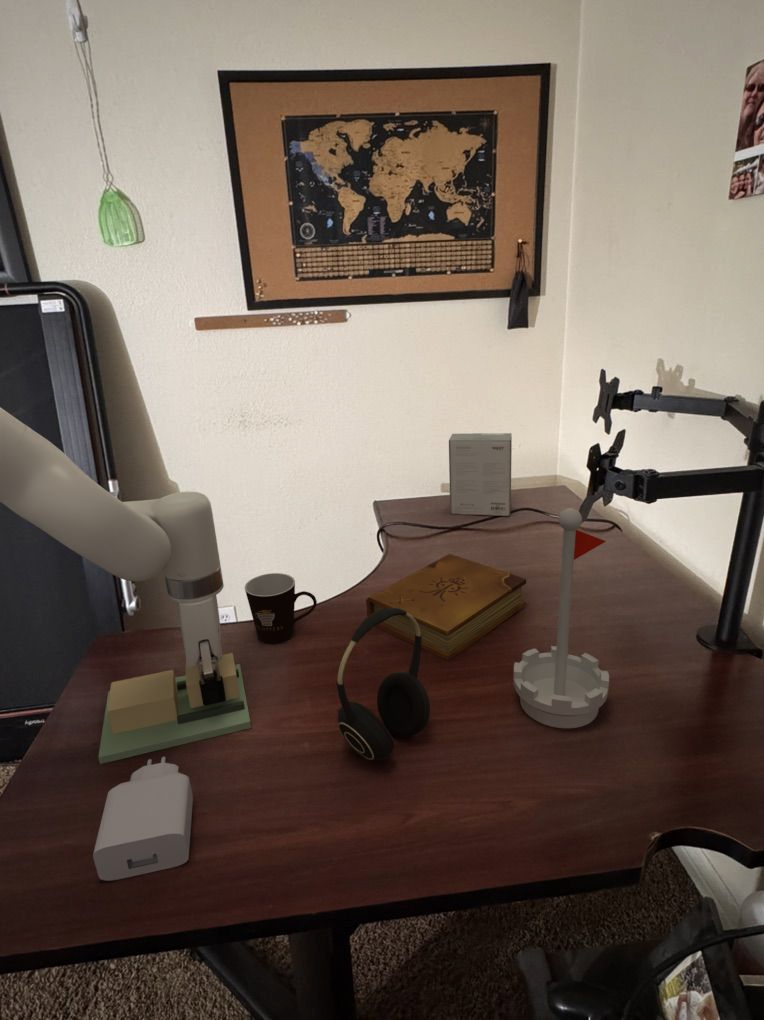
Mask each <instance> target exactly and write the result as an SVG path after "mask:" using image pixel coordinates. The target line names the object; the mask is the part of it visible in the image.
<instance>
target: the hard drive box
mask: <svg viewBox="0 0 764 1020" xmlns="http://www.w3.org/2000/svg"><path fill="white" fill-rule="evenodd" d="M512 436H513V435H512V433H511V432H509V433H508V432H507V433H506V432H495V433H493V432H490V433H488V432H485V433H484V432H482V433H481V432H479V433H475V432H474V433H452V434H451V435H450V437H449V439H448V466H449V467H448V468H449V469H448V470H449V514H450V515H464V516H466V515H467V516H468V515H471V516H492V517H499V516H500V517H510V516H511V512H512V511H511V510H512V452H513V451H512V445H513V444H512V440H513V439H512V438H513V437H512Z"/></svg>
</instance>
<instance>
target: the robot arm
mask: <svg viewBox="0 0 764 1020" xmlns="http://www.w3.org/2000/svg"><path fill="white" fill-rule="evenodd" d="M0 503H1V504H3V505H4V506H6V508H8V509H10V510H11V511H12V512H13V513H15V514H16V515H18V516H19V517H21V518H22V519H24V520H25V521H27V522H29V523H31V524H33V525H34V526H36V527H37V528H39V529H40V530H41V531H43V532H44V533H46V534H47V535H49V536H50V537H52V538H54V539H55V540H56V541H57V542H59V543H60V544H62V545H64V546H65V547H67V548H68V549H70V550H71V551H73V552H74V553H76V554H77V555H79V556H81V557H82V558H84V559H86V560H87V561H89V562H91V563H92V564H94V565H96V566H97V567H99V568H101V569H103V570H104V571H106V572H107V573H109V574H110V575H113V576H115V577H117V578H119V579H121V580H123V581H127V582H133V583H134V582H135V583H138V582H145V581H149V580H151V579H153V578H155V577H157V576H159V575H160V574H161V573H162V572H163V575H164V581H165V586H166V590H167V591H166V592H167V596H168V598H169V599H170V600H171V601H172V602H175V603H176V605H177V613H178V619H179V625H180V633H181V637H182V643H183V650H184V656H185V661H186V662H187V666H188V667H189V668H192V667H195V666H196V665H198V669H199V675H200V681H199V684H200V690H201V695H202V701H203V705H210V704H215V703H219V702H224V701H225V700H226V696H225V690H224V684H223V678H222V676H220V671H219V665H218V662H219V661H220V660H221V659H222V655H223V647H222V630H221V628H222V627H221V620H220V610H219V604H218V597H217V595H218V594H220V593H221V592H222V591H223V589H224V587H225V586H224V585H225V584H224V579H223V573H222V566H221V560H220V559H221V558H220V552H219V546H218V539H217V533H216V527H215V520H214V514H213V508H212V504H211V501H210V499H209V498H208V496H207V495H206V494H204V493H201V492H198V491H180V492H173V493H169V494H167V495H165V496H162V497H160V498H154V499H145V500H132V501H131V500H130V501H129V500H128V501H122V500H120V499H119V498H117V497H116V496H115V495H113V494H112V493H110V492H109V491H108V490H106V489H105V488H104V487H102V486H101V485H100V484H98V483H97V482H96V481H95V480H94V479H92V478H91V477H90V476H89V475H87V473H85V471H83V470H82V469H81V468H80V467H79V466H77V464H75V462H74V461H72V459H71V458H70V457H69V456H67V454H65V453H64V452H63V451H62V450H61V449H60V448H59V447H57V446H56V445H55V444H53V443H52V441H49V439H47V438H46V437H45V436H44V437H43V435H41V434H40V433H38V432H36V431H35V430H34V429H32V428H31V427H29V426H28V425H27V424H25V423H23V422H22V421H20V420H19V419H18V418H16V417H15V416H13V415H12V414H11V413H9V412H8V411H6V410H5V409H3V408H2V407H0ZM211 657H215V658H211ZM201 659H202V661H200V660H201ZM186 662H185V663H186ZM197 663H198V664H197ZM212 664H215V670H213V667H212ZM202 666H203V668H202ZM203 671H204V672H203Z"/></svg>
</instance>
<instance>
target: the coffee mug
mask: <svg viewBox="0 0 764 1020" xmlns="http://www.w3.org/2000/svg"><path fill="white" fill-rule="evenodd" d="M244 591H245V594H246V599H247V603H248V606H249V609H250V613H251V618H252V620H253V624H254V629H255V632H256V635H257V639H258V641H259V642H261V643H263V644H265V645H278V644H283V643H286V642H287V641H289V640H290V639H291V638H293V636H294V634H295V625H296V622H298V621H300V620H302V619H303V618H305V617H307V616H309V615H310V614H311V613H312V612H314V610H315V609H316V607H317V604H318V601H317V599H316V596H315V594H313V593H311V592H309V591H305V590H303V591H298V592H297V593H296V580H295V578H294V577H293V576H291V575H289V574H287V573H281V572H279V573H278V572H271V573H265V574H261V575H257V576H256V577H253V578H251V579H249V580H248V581H247V582H246V584H245V585H244ZM302 596H306V597H307V596H308V597H309V598H310V599H311V600H312V602H313V605H312V607H311V608H310V609H309V610H307V611H305V612H304V613H302V614H299V615H298V616H297V617H295V606H296V605H295V603H296V602H297V600H298V598H299V597H302Z"/></svg>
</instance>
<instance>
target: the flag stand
mask: <svg viewBox="0 0 764 1020" xmlns="http://www.w3.org/2000/svg"><path fill="white" fill-rule="evenodd" d="M558 524H559V526H560V528H562V529H563V533H562V534H563V535H562V549H561V550H562V551H561V566H560V583H559V584H560V585H559V599H558V614H557V616H558V617H557V630H556V631H557V632H556V633H557V634H556V645H550V652H541V653H540V652H539V650H538V649H537V648H535V647H534V648H531V649H528V650H526V651H525V652H523V653H522V654H521V661H520V662H516V661H515V662H514V664H513V676H512V678H513V679H512V681H513V688H514V690H515V692H516V693H517V694H518V696H519V703H520V705H521V709H522V710H523V711H524V713H526V715H528V716H529V717H530V718H531V719H533V720H535V721H536V722H538V723H540V724H542V725H545V726H549V727H552V728H556V729H575V728H580V727H584V726H587V725H589V724H590V723H592V722H593V721H594V720H595V719H596V718H597V716H598V714H599V709H600V708H601V707H602V706H603V705H604V704H605V703H606V701H607V699H608V696H609V687H610V675H609V671H608V670H602V669H601V668H600V667H599V665H600V660H599V659H597V658H596V657H594V656H593V655H591V654H589V653H586V652H584V653H583V654H581V655H580V656H577V655H573V654H569V635H570V620H571V619H570V618H571V608H572V607H571V606H572V594H573V593H572V591H573V578H574V577H573V575H574V564H575V563H574V561H575V560H577V559H578V558H580V557H582V556H585V554H587V553H589V552H591V551H592V550H594V549H596V548H598V547H599V546H601V545H603V544H604V543H607V541H606V540H604V539H602V538H600V537H597V536H594V535H591V534H589V533H586V532H583V531H581V530H578V529H579V528H580V527H581V526H582V524H583V517H582V514H581V512H580V511H578V509H575V508H574V507H573V508H572V507H571V508H564V509H563V510H562V511H561V512H560V514H559V515H558Z"/></svg>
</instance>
